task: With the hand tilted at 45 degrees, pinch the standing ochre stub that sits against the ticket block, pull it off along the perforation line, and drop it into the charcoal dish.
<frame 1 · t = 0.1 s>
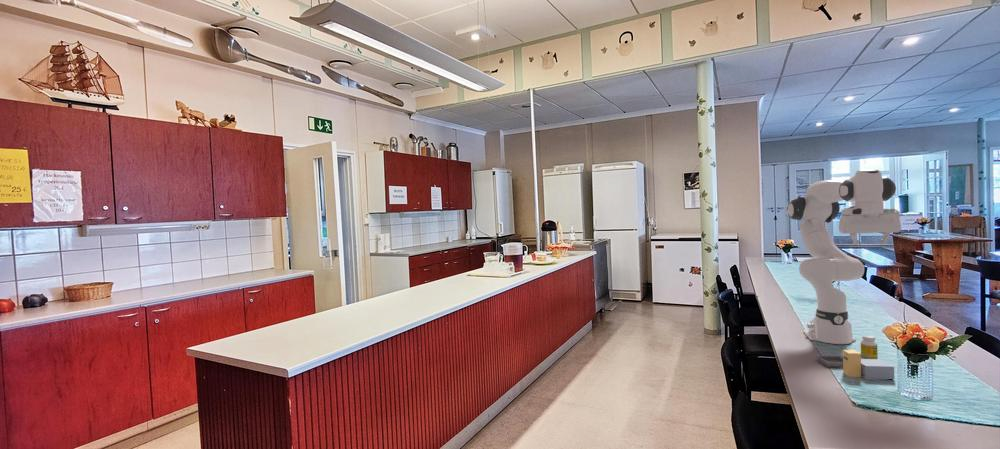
hand: (869, 244, 180), 48 cm above the table, tool pointing down, fingers open, 8 cm apart
supplement bottle: (869, 359, 185), on the table
stub: (852, 375, 170), on the table
dish: (834, 364, 182), on the table
ticket block: (873, 375, 169), on the table
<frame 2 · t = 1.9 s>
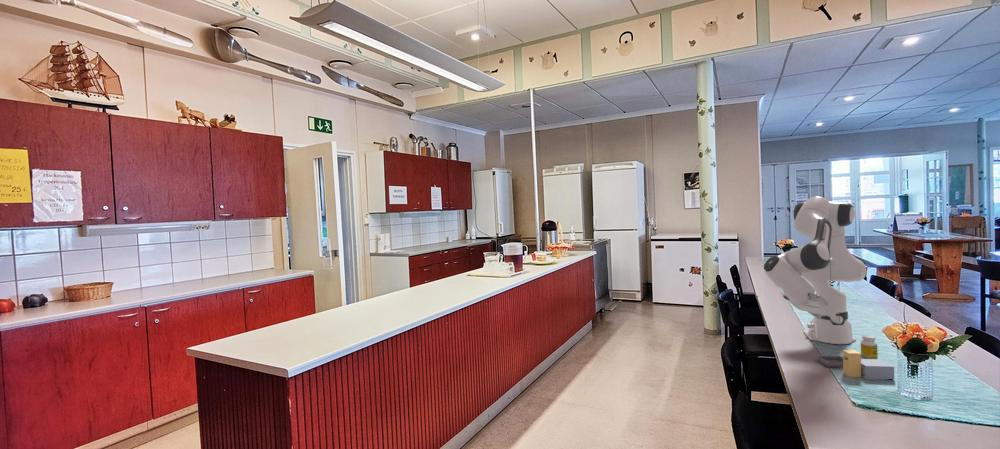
hand: (827, 319, 170), 21 cm above the table, tool tilted 40°, fingers open, 8 cm apart
nothing on the table moved.
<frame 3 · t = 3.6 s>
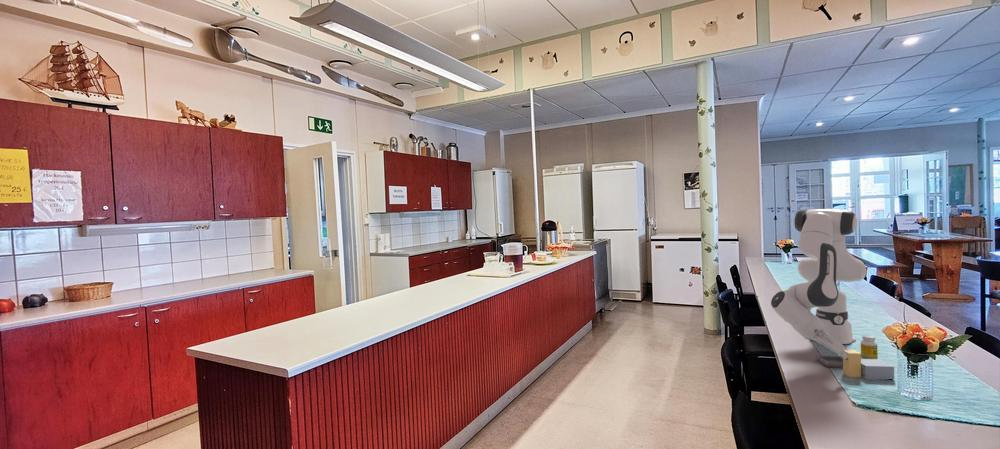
hand: (839, 352, 171), 8 cm above the table, tool tilted 45°, fingers open, 8 cm apart
nothing on the table moved.
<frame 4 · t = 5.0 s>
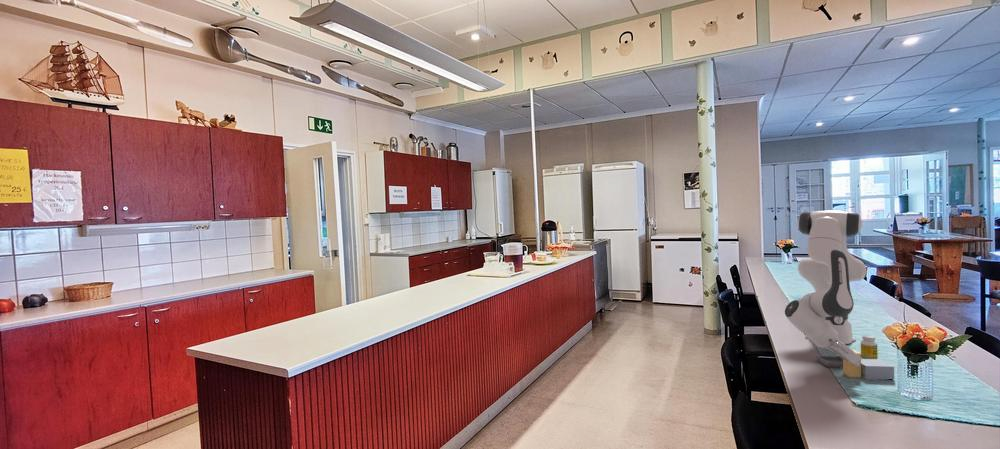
hand: (853, 362, 170), 5 cm above the table, tool tilted 45°, fingers closed on stub, 4 cm apart
stub: (852, 375, 170), on the table, touching gripper
everything else where it was.
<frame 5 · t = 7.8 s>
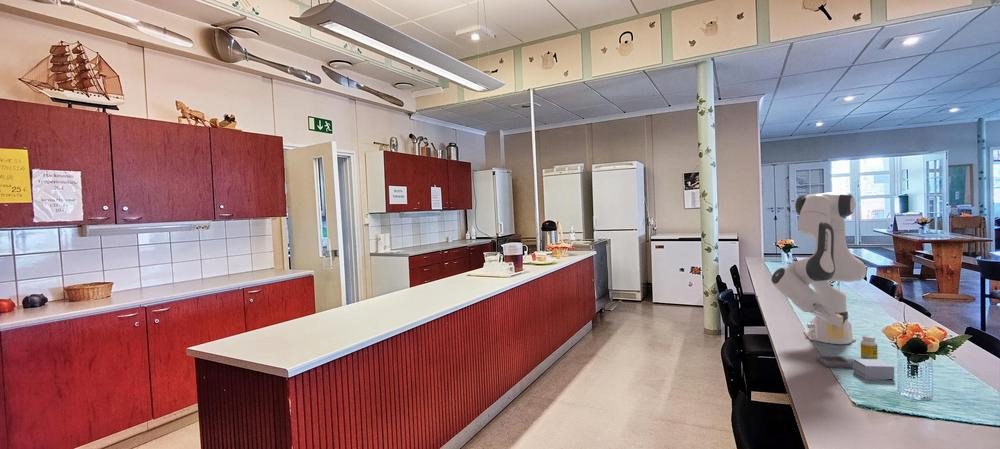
hand: (836, 325, 179), 16 cm above the table, tool tilted 45°, fingers closed on stub, 4 cm apart
stub: (835, 337, 179), point 12 cm above the table, touching gripper
everything else where it was.
when the fingers open (7 cm above the table, at t = 10.4 s): stub drops 1 cm, resting on dish.
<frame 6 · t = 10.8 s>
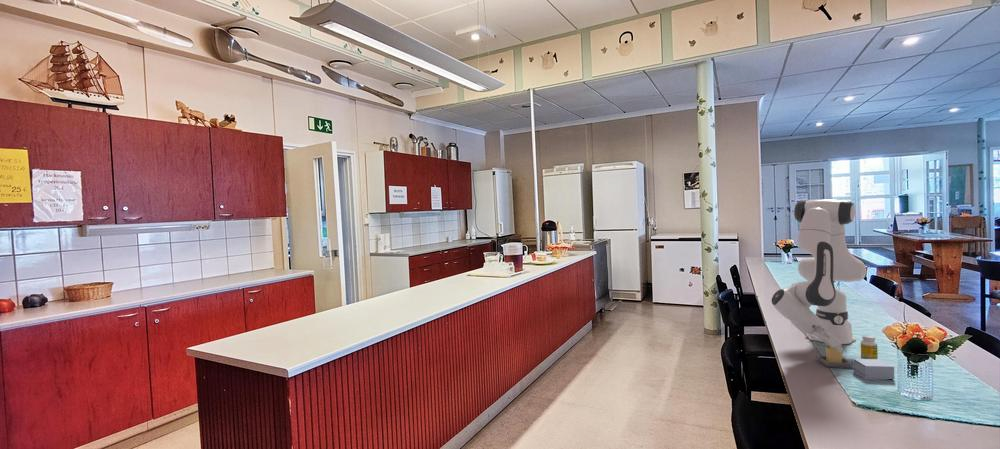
hand: (835, 347, 181), 7 cm above the table, tool tilted 45°, fingers open, 8 cm apart
stub: (834, 362, 182), point 1 cm above the table, touching dish
everything else where it was.
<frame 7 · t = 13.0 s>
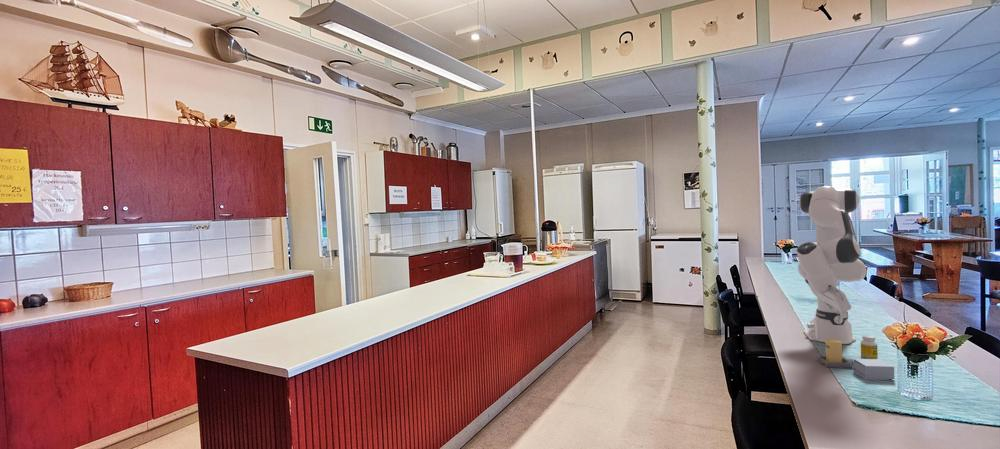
hand: (837, 312, 177), 22 cm above the table, tool tilted 25°, fingers open, 8 cm apart
nothing on the table moved.
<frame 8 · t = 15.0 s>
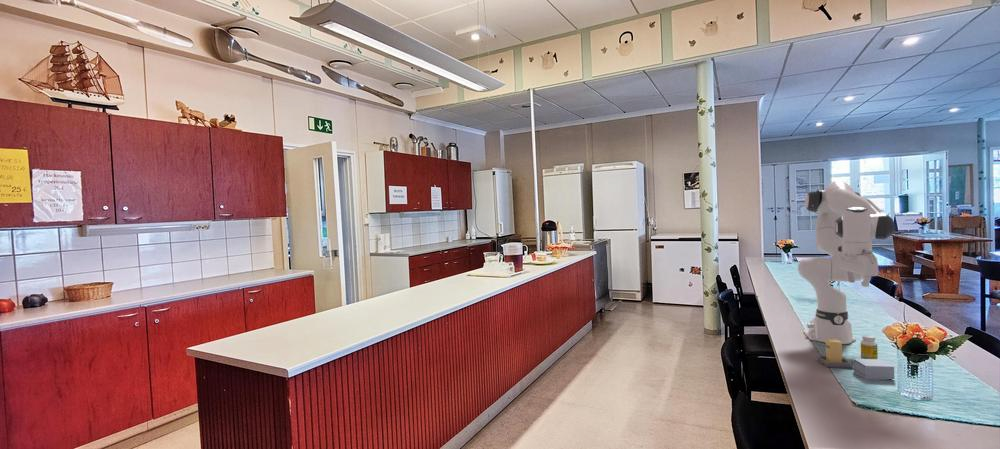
hand: (858, 284, 175), 33 cm above the table, tool pointing down, fingers open, 8 cm apart
nothing on the table moved.
at the end: stub inside the target area on the dish (0.1 cm from its centre), point 0.6 cm above the dish's base; stub moved 12.1 cm from its start; the gripper is holding nothing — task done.
